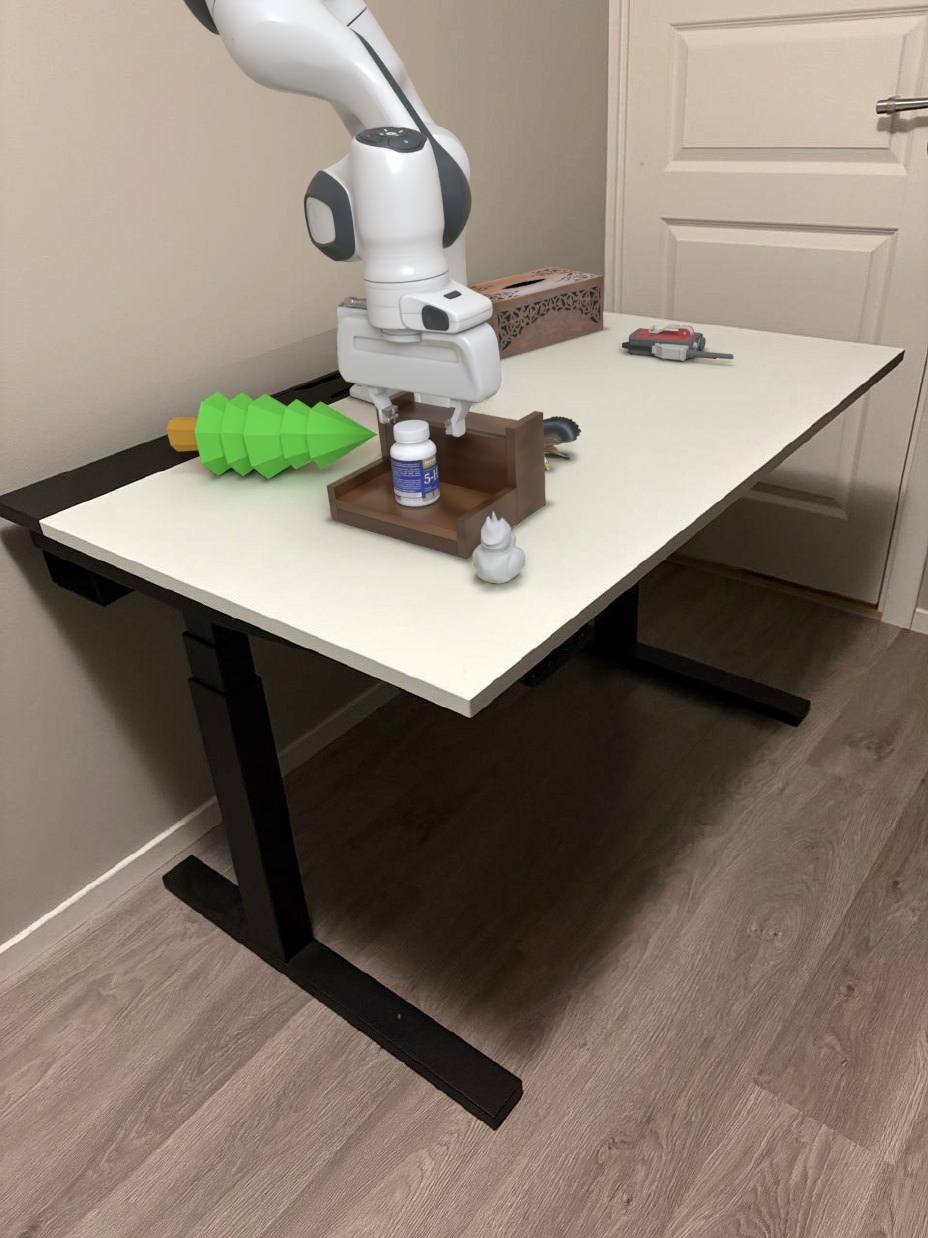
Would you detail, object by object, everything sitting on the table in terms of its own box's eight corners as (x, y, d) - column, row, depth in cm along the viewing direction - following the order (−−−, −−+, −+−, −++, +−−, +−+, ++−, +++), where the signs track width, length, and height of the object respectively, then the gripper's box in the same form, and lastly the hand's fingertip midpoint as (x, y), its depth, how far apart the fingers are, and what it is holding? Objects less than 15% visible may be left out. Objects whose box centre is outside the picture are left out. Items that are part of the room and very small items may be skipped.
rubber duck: (464, 587, 98) (458, 517, 94) (488, 558, 103) (484, 491, 99) (513, 595, 96) (509, 523, 92) (535, 565, 101) (533, 496, 97)
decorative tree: (174, 374, 129) (377, 371, 120) (209, 437, 138) (401, 438, 128) (139, 432, 123) (350, 433, 113) (178, 494, 131) (377, 499, 122)
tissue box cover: (496, 361, 166) (493, 303, 161) (448, 346, 177) (444, 291, 171) (603, 330, 179) (603, 275, 174) (552, 318, 189) (551, 266, 184)
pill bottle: (434, 508, 108) (427, 434, 103) (390, 507, 109) (381, 433, 104) (444, 489, 112) (438, 417, 108) (402, 488, 113) (394, 417, 109)
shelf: (467, 558, 103) (459, 459, 97) (331, 520, 114) (317, 429, 108) (545, 504, 114) (543, 411, 108) (415, 473, 125) (406, 388, 119)
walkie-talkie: (615, 356, 163) (730, 367, 154) (616, 330, 161) (732, 340, 152) (635, 343, 169) (746, 352, 160) (635, 318, 167) (748, 325, 158)
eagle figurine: (538, 476, 118) (592, 445, 121) (510, 425, 118) (565, 395, 121) (513, 489, 125) (565, 459, 129) (487, 441, 125) (539, 413, 128)
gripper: (315, 301, 102) (334, 424, 110) (469, 317, 92) (479, 452, 99) (354, 288, 107) (370, 407, 114) (505, 301, 96) (512, 432, 103)
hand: (422, 428), depth 106 cm, fingers open, 8 cm apart
